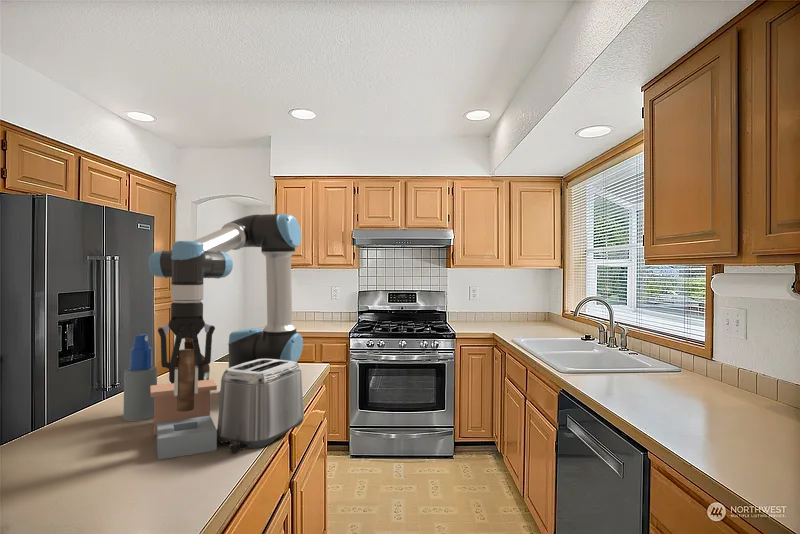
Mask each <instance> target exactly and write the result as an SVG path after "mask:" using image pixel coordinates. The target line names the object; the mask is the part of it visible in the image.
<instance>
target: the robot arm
mask: <svg viewBox="0 0 800 534" xmlns="http://www.w3.org/2000/svg"><path fill="white" fill-rule="evenodd" d="M301 229H302V228H301V227H300V224H299V222H298V220H297V218H296V217H295V216H293V215H292V214H287V213H271V214H269V213H268V214H251V215H246V216H243V217H239V218H238V219H237V218H236V219H235V220H232V221H230V222H227V223H225V224H224V225H223V226H222V227H221V229H219V230H216V231H214V232H211V233H209V234H207V235H205V236H202V237H200V238H197V239H195V240H177V241H175V242H173V243H172V248H171V250H158V251H154V252H152V253H151V255H150V256H149V258H148V261H147V262H148V263H147V265H148V268H149V272H150V274H151V275H153V276H154V277H157V278H164V279H169V278H170V279H171V285H170V286H171V287H170V300H171V301H173V302H172V303H171V304H170V319H169V322H168V324H166V325H165V326H160V327H158V328H157V332H158V334H159V337H160V356H161V357H160V358H161V359H160V361H161V362H160V363H161V367H162V368H166V369H168V370H169V371H168V372H169V374H168V379H169V382H170V383H171V382H174V396H177V395H178V368H175V365H176V361H177V357H178V352H179V350H180V348H181V344H182V340H183V339H184V340H185V338H192V341H193V346H194V350H195V356H196V361H197V366H195V380H194V393H195V394H196V393H198V379H202V378H203V366H204V365H206V364H209V365H210V364H211V360H212V343H213V334H214V332H215V330H216V327H215V325H213V324H208V323H206V322H205V320H204V303H203V302H202V301H203V300H204V279H222V278H226V277H228V276H229V275H230V274H231V272H232V271H233V267H234V263H233V259H232V257H231V256H230V254H228V252H230V251H231V250H233V251H237V250H240V249H243V248H260V249H261V253H262V255H264V257H265V263H266V264H265V267H266V269H265V271H266V272H265V273H266V275H265V276H266V282H265V283H266V315H267V316H266V317H267V318H266V320H267V321H266V323H267V324H265V326H264V327H263V328H262V327H253V328H252V327H251V328H245V329H240V330H235V331H232V332H231V333H230V334H229V336H228V343H227V345H228V368H230V367H233V366H236V365H239V364H242V363H246V362H249V361H253V360H257V359H278V360H288V361H294V362H297V363H298V361H299V360H300V357H302V356H301V355H302V352H303V349H304V348H303V347H304V338H303V336H302V334H300V333H297V332H298V331H297V327H296V325H294V324H293V307H292V304H293V303H292V302H293V300H292V256H293V255H294V254H295V253H296V248H298V247H300V246H301V245H300V244H301V241H302V230H301ZM203 329H204V332H205V333H206V334H205V345H204V346H205V347H204V357H205V359H204V360H202V357H201V354H202V353H201V348H200V347H201V346H200V343H199V337H198V335H199V334H200V333H201V331H202V330H203ZM169 330H170V331H171V332H172V333H173V334H174V336H175V339H174V344H173V349H172V352H171V356H170V361H168V351H167V349H168V348H167V335H168V334H169Z"/></svg>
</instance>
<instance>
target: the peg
mask: <svg viewBox="0 0 800 534" xmlns="http://www.w3.org/2000/svg"><path fill="white" fill-rule="evenodd" d="M194 380H195V350H194V349H185V348H184V349H183V348H182V349H179V352H178V395H177V411H180V412H185V411H191V410H193V409H194Z"/></svg>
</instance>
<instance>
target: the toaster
mask: <svg viewBox="0 0 800 534" xmlns="http://www.w3.org/2000/svg"><path fill="white" fill-rule="evenodd" d="M302 375H303V374H302V369H301V364H299V363H298V361H297V362H294V361H288V360H278V359H257V360H253V361H249V362H246V363H242V364H239V365H236V366H233V367H230V368H229V367H228V368H227V369H225V370H224V371H223V373H222V376H221V380H220V393H219V404H218V417H217V419H218V420H217V427H216V430H217V441H218V442H220V443H222V444H225V443H227V442H229V447H228V448H229V449H228V452H229V453H230V454H233V455H234V454H235V453H236V452H239V451H241V450H244V449H247V447H248V448H251V449H253V448H254V449H257V448H265V447H266V446H267V445H269V444H271V443H274V441H276V439H278V438H279V437H280V436H282V435H284V434H285V433H288V432H289V431H290V430H292V429H294V428H298V427H299V426H300V425H302V423H303V421H304V418H305V408H304V394H303V379H302V377H303V376H302Z"/></svg>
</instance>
